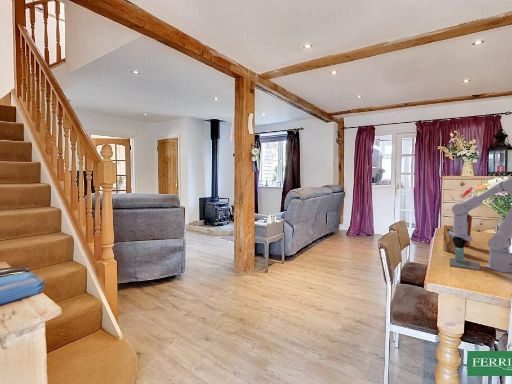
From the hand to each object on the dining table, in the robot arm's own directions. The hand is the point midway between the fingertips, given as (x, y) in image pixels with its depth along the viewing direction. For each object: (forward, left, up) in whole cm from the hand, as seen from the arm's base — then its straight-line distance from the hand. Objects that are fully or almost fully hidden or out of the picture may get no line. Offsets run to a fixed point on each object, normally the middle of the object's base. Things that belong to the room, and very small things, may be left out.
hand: (459, 251), depth 151 cm
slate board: (-7, +4, -5) cm, 9 cm away
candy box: (+14, -10, -5) cm, 18 cm away
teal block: (-3, +3, -4) cm, 6 cm away
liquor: (+24, -28, -5) cm, 38 cm away
